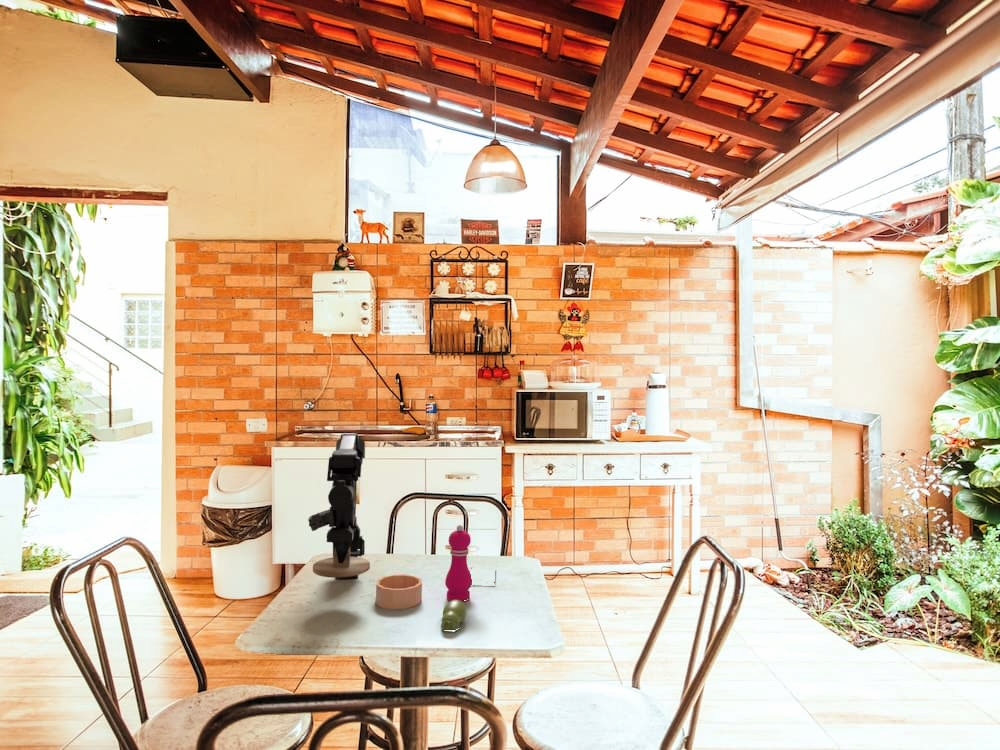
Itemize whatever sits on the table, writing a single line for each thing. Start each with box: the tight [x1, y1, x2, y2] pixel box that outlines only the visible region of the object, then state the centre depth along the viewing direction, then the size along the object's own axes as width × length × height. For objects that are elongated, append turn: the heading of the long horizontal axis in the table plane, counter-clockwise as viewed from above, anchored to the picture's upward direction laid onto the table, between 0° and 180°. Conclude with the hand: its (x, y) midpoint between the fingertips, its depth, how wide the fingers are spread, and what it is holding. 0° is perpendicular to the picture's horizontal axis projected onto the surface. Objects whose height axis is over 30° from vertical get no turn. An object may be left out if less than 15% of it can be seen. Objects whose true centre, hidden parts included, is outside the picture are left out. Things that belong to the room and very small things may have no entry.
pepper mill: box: [444, 524, 472, 602], centre depth 164 cm, size 7×7×20 cm
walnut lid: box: [312, 548, 371, 578], centre depth 157 cm, size 14×14×5 cm
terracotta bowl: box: [375, 573, 423, 610], centre depth 162 cm, size 12×12×5 cm
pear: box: [440, 600, 467, 630], centre depth 146 cm, size 6×5×10 cm
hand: (341, 560), depth 157 cm, fingers closed on walnut lid, 4 cm apart
